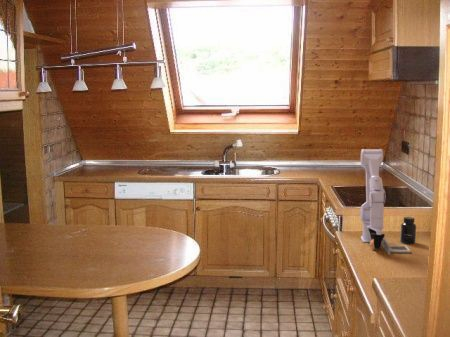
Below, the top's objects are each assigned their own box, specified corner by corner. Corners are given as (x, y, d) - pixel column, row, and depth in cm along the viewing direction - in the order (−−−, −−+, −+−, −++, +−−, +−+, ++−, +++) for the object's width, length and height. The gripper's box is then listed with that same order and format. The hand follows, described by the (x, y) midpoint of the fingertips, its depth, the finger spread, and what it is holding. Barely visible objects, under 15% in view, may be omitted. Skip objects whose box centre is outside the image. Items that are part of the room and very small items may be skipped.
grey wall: (381, 244, 244) (381, 236, 243) (383, 244, 244) (384, 236, 243) (388, 254, 228) (388, 245, 227) (390, 254, 228) (390, 245, 227)
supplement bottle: (405, 245, 243) (406, 219, 241) (397, 241, 249) (398, 216, 248) (418, 243, 245) (419, 218, 243) (409, 240, 251) (410, 215, 250)
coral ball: (369, 247, 239) (369, 237, 238) (380, 248, 238) (380, 237, 238) (370, 250, 234) (371, 239, 233) (382, 251, 233) (382, 240, 233)
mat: (385, 246, 241) (385, 244, 241) (405, 246, 240) (406, 244, 240) (390, 253, 230) (390, 250, 230) (411, 253, 229) (411, 251, 229)
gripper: (365, 213, 242) (364, 241, 244) (370, 220, 228) (369, 250, 229) (380, 213, 241) (379, 242, 243) (386, 220, 227) (385, 251, 229)
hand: (375, 246), depth 236 cm, fingers open, 7 cm apart
